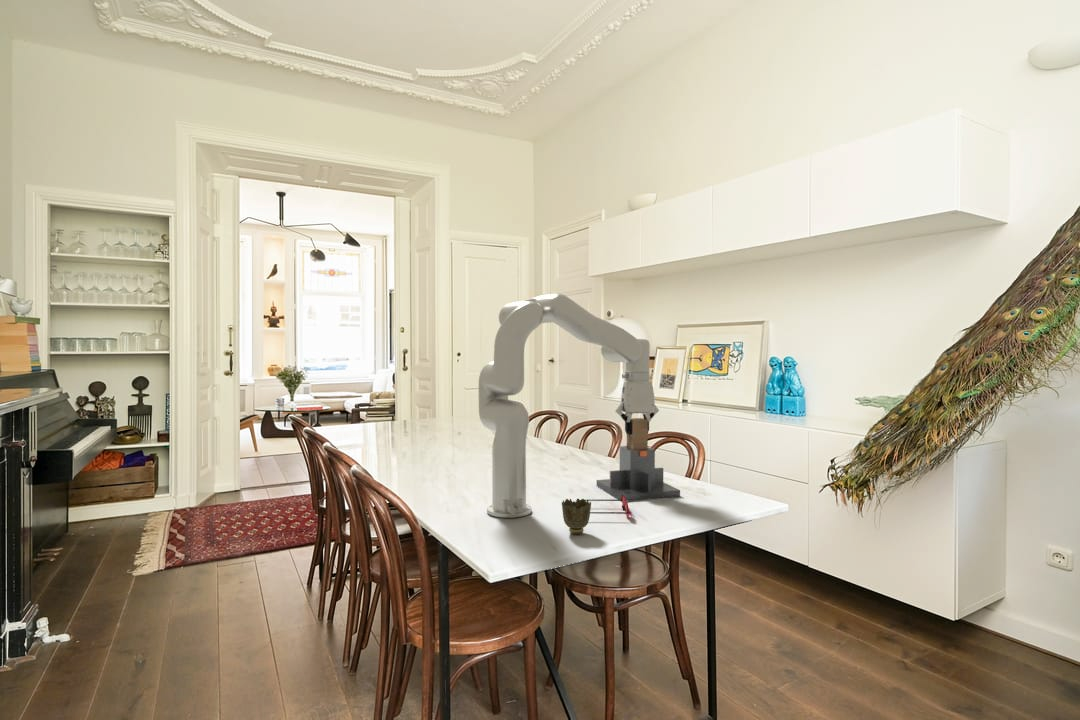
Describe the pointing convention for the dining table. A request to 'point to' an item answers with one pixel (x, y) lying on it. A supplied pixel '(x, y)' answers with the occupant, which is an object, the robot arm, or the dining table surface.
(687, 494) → the dining table surface
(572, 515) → the cup
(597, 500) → the glasses
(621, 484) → the stand
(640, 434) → the column
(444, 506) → the dining table surface
